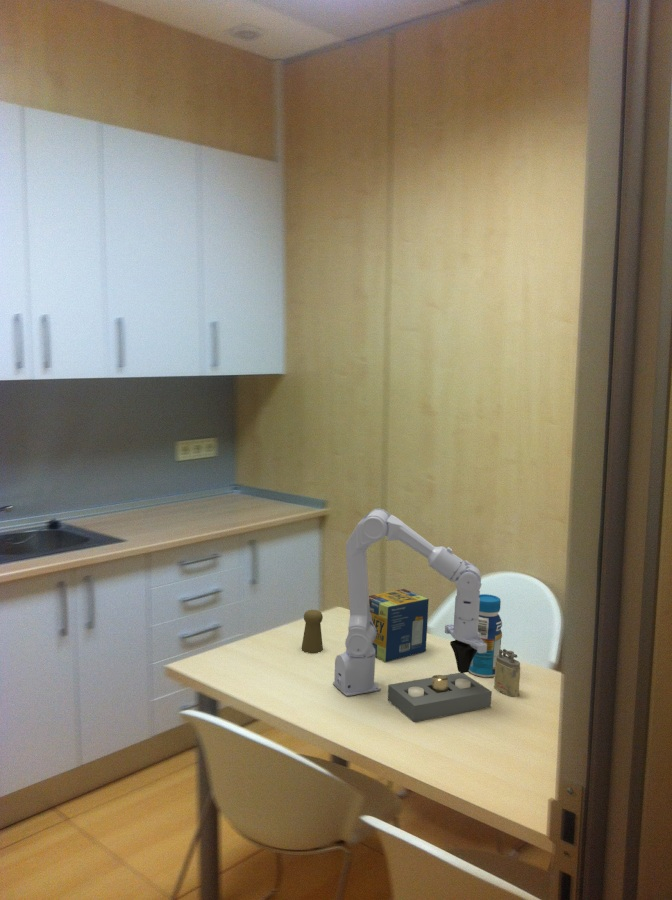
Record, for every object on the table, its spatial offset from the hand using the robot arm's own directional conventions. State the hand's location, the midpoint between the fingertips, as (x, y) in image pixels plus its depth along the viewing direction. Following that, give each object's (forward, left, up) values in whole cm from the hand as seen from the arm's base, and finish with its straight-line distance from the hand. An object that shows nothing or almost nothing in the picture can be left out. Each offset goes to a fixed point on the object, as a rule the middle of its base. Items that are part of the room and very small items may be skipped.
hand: (463, 671), depth 181 cm
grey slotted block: (-6, 0, -7) cm, 9 cm away
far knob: (0, 0, -7) cm, 7 cm away
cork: (-21, +42, -7) cm, 47 cm away
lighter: (+13, 0, -7) cm, 15 cm away
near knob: (-13, 0, -7) cm, 15 cm away
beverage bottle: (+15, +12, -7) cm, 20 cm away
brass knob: (-6, 0, -5) cm, 8 cm away
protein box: (0, +33, -7) cm, 34 cm away
